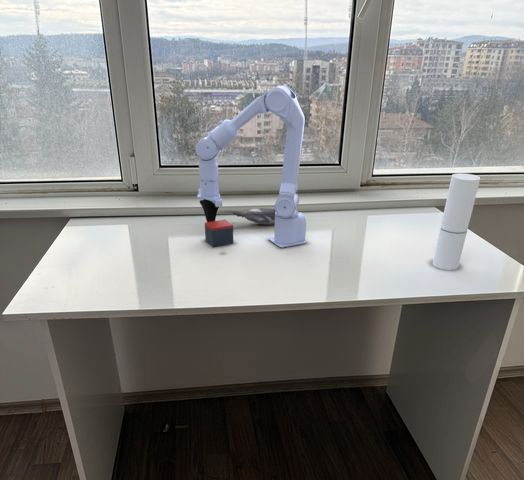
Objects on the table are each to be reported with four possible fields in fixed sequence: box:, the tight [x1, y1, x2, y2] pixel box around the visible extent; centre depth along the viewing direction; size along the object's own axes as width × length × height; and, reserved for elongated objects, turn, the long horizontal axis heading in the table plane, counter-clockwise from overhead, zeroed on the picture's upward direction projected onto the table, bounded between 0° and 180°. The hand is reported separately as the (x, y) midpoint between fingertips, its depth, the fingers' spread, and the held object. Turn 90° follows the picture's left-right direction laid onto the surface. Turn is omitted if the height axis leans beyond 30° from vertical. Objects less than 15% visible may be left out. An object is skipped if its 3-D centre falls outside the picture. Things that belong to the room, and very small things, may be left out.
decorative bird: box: [217, 207, 276, 225], centre depth 170 cm, size 6×25×5 cm, turn 99°
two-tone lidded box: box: [204, 219, 234, 248], centre depth 154 cm, size 7×6×6 cm
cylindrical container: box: [432, 172, 481, 271], centre depth 137 cm, size 7×7×25 cm
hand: (210, 223), depth 158 cm, fingers closed
